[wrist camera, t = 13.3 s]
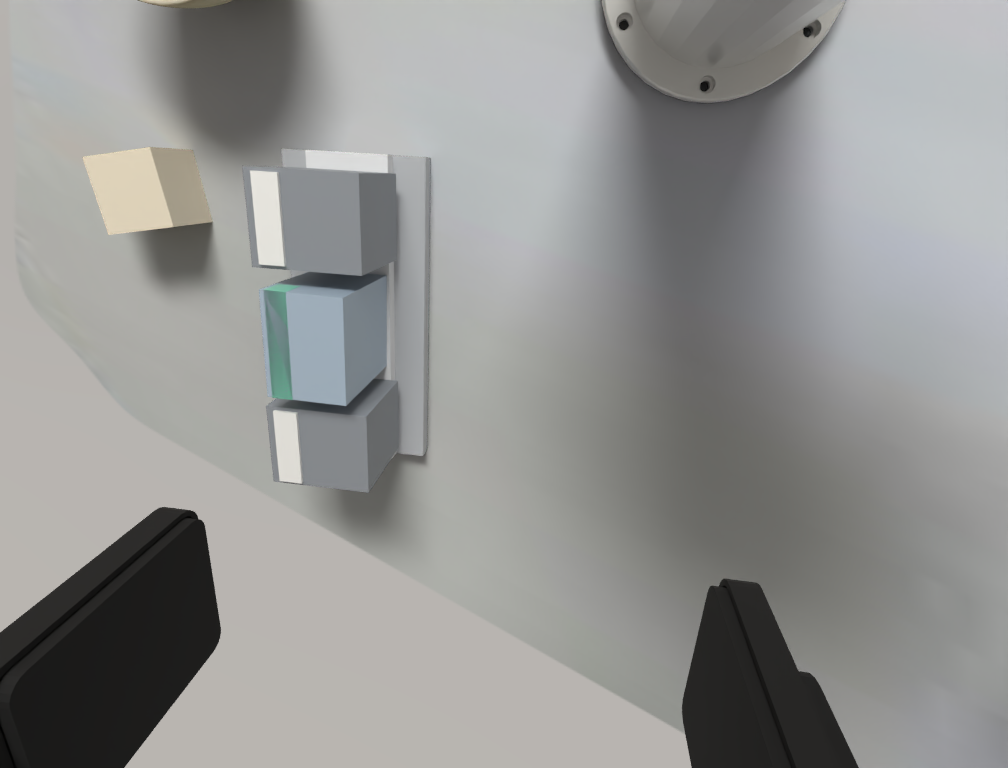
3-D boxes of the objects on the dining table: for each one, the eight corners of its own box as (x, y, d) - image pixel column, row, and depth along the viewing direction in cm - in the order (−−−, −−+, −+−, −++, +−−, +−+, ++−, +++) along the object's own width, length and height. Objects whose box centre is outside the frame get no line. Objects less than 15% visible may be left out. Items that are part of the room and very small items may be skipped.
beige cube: (132, 158, 37) (82, 157, 33) (193, 150, 36) (149, 147, 33) (154, 229, 38) (108, 234, 35) (213, 221, 38) (173, 226, 34)
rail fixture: (290, 149, 35) (208, 141, 28) (430, 157, 34) (386, 152, 27) (310, 435, 42) (250, 494, 35) (427, 448, 42) (392, 511, 34)
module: (317, 268, 36) (258, 289, 29) (386, 274, 35) (342, 297, 29) (321, 358, 38) (267, 397, 31) (386, 366, 37) (346, 406, 31)
